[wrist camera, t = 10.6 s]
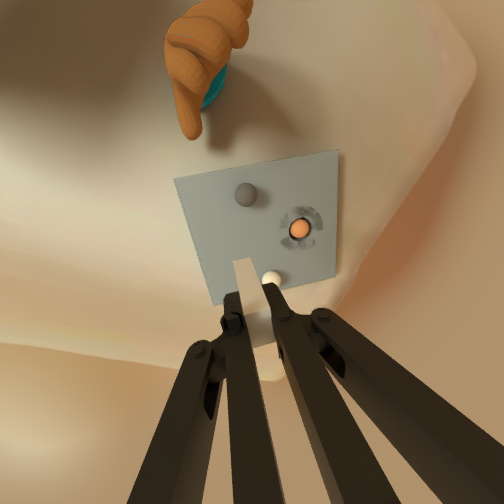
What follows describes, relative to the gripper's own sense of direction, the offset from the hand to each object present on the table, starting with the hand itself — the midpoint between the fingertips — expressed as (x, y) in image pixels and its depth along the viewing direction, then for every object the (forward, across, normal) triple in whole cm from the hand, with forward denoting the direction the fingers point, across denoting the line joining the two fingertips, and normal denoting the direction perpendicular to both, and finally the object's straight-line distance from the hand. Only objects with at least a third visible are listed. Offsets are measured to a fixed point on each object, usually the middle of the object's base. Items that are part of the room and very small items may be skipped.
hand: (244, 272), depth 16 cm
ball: (+17, +12, -4) cm, 21 cm away
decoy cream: (+14, +5, -12) cm, 19 cm away
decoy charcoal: (+15, +3, +4) cm, 16 cm away
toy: (+20, 0, +18) cm, 27 cm away
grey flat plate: (+19, +6, -4) cm, 20 cm away
